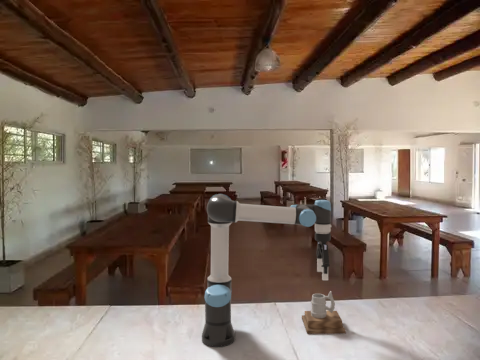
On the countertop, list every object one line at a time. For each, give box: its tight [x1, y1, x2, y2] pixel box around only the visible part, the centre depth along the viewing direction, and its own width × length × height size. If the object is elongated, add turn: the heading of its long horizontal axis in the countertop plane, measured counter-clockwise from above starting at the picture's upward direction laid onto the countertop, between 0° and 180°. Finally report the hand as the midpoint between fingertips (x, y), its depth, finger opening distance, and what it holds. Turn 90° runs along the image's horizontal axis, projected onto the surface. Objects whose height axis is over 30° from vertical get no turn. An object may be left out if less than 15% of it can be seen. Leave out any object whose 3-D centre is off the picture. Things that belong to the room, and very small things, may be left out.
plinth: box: [301, 310, 347, 335], centre depth 202 cm, size 18×18×5 cm
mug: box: [310, 290, 336, 318], centre depth 202 cm, size 8×12×12 cm, turn 94°
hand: (322, 275), depth 201 cm, fingers open, 13 cm apart
